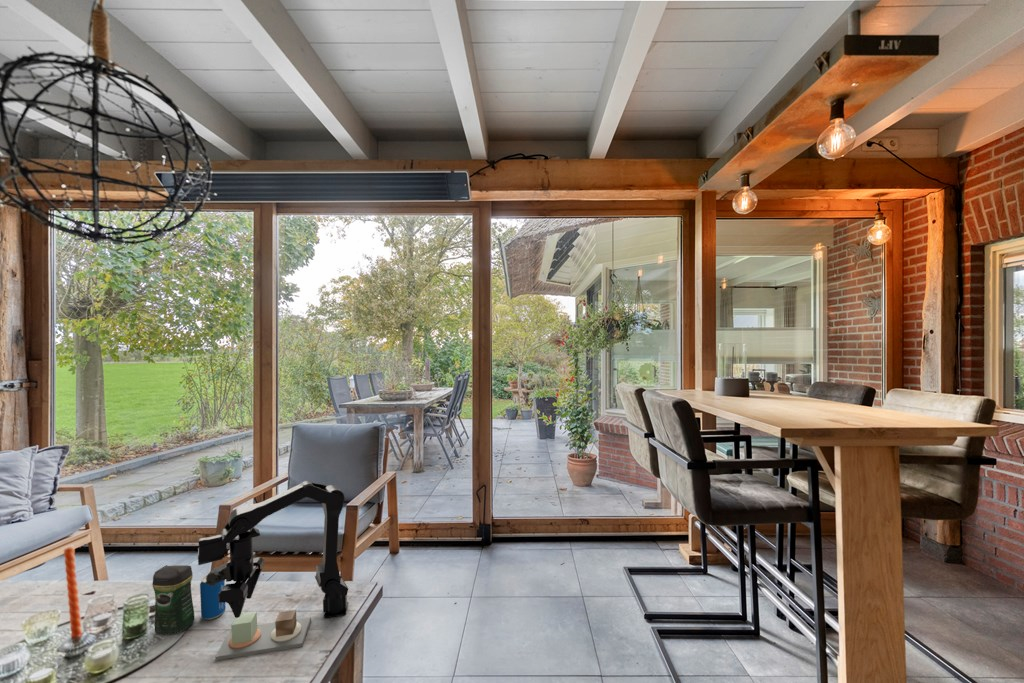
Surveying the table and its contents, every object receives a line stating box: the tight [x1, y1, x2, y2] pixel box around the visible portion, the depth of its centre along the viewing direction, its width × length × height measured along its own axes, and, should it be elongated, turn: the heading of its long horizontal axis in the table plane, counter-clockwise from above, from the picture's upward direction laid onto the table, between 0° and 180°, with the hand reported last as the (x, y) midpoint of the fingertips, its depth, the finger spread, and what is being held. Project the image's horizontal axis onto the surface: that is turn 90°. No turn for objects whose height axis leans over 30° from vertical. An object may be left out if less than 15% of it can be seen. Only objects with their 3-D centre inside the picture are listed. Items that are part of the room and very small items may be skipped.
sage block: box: [230, 611, 258, 644], centre depth 131 cm, size 5×5×6 cm
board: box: [214, 616, 312, 661], centre depth 133 cm, size 22×12×2 cm, turn 103°
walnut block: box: [274, 609, 297, 637], centre depth 134 cm, size 4×4×4 cm
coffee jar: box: [151, 564, 196, 635], centre depth 139 cm, size 10×8×19 cm
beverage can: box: [199, 575, 226, 620], centre depth 145 cm, size 6×6×12 cm
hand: (243, 607), depth 131 cm, fingers open, 9 cm apart
